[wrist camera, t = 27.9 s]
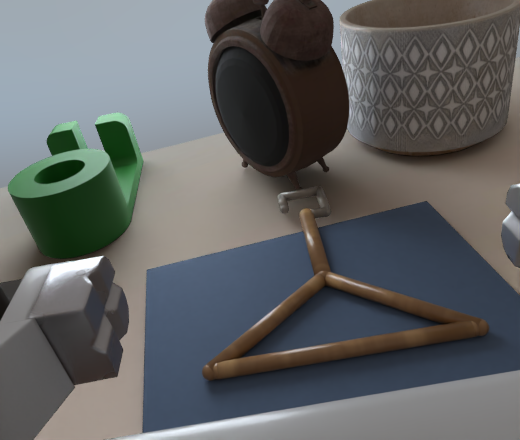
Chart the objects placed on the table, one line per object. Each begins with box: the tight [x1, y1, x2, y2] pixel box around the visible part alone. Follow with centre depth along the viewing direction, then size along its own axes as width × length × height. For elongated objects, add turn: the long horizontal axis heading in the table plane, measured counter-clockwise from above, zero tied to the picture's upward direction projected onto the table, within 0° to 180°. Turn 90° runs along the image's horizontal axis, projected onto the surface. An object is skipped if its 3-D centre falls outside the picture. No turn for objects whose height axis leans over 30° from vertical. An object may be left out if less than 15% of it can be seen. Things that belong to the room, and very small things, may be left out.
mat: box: [143, 201, 520, 433], centre depth 30 cm, size 22×24×1 cm
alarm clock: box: [205, 0, 349, 190], centre depth 43 cm, size 14×7×20 cm, turn 38°
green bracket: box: [8, 113, 143, 259], centre depth 48 cm, size 18×9×6 cm, turn 7°
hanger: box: [202, 186, 489, 381], centre depth 35 cm, size 1×17×19 cm
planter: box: [340, 0, 520, 156], centre depth 49 cm, size 16×16×13 cm
